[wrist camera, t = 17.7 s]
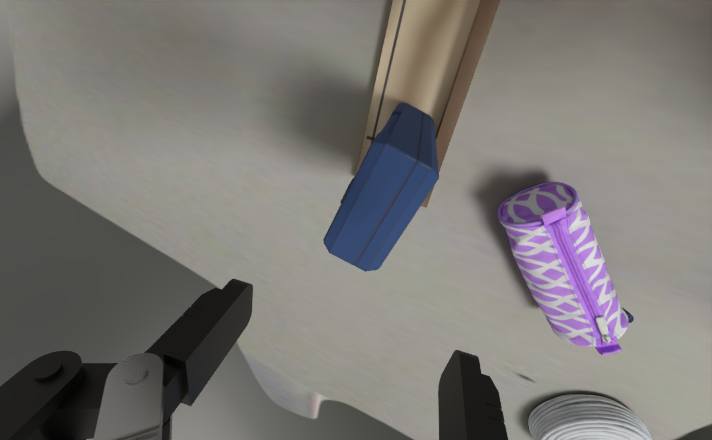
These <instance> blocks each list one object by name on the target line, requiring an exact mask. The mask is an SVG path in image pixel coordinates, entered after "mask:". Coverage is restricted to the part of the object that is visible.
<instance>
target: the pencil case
mask: <svg viewBox="0 0 712 440" xmlns="http://www.w3.org/2000/svg"><path fill="white" fill-rule="evenodd" d="M498 219H499V221H500V223H501V224H502V225H503V226H504V227H505V229H506V232H507V235H508V238H509V241H510V244H511V251H512V254H513V256H514V258H515V261H516V263H517V265H518V267H519V269H520V271H521V273H522V275H523V277H524V279H525V281H526V284H527V286H528V288H529V290H530V292H531V294H532V296H533V297H534V299H535V301H536V302H537V304H538V305H539V307H540V308H541V310H542V311H543V313H544V314H545V316H546V319H547V321H548V322H549V324H550V325H551V328H552V330H553V331H554V333H555V334H556V335H557V336H559V337H560V338H562V339H563V340H565V341H567V342H569V343H572V344H575V345H578V346H594V347H595V348H596V349H597V351H598V352H599V353H600V354H601V355H609V354H613V353H617V352H620V351H623V350H622V348H621V347H620V346H619V344H618V343H617V342H616V339H619V338H620V337H621V336H622V335H623V334H624V333H625V332H626V330H627V328H628V322H629V323H631V322H632V321H633V319H634V318H633V316H632V315H631V314H630V313H629V312H628V311H626V310H625V309H624V308H622V307H621V306H620V304H619V301H618V298H617V295H616V292H615V289H614V286H613V283H612V281H611V279H610V277H609V274H608V272H607V268H606V265H605V260H604V257H603V255H602V252H601V249H600V247H599V245H598V243H597V240H596V237H595V234H594V232H593V230H592V227H591V224H590V219H589V216H588V215H587V214H586V212H585V211H584V209H583V208H582V203H581V200H580V196H579V194H578V193H577V192H576V190H575V189H574V188H572V187H571V186H569V185H567V184H564V183H559V182H547V183H542V184H538V185H536V186H533V187H529V188H527V189H524V190H522V191H520V192H518V193H516V194H515V195H513V196H512V197H509V198H508V199H506V200H505V201H503V202H502V204H501V205H500V206H499V209H498Z"/></svg>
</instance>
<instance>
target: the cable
mask: <svg viewBox="0 0 712 440" xmlns="http://www.w3.org/2000/svg"><path fill="white" fill-rule="evenodd" d="M528 425H529V430H530V433H531V435H532V436H533V438H534V440H654V439H653V438H652V436H651V435H650V434H649V432H648V430H647V428H646V426H645V425H644V423H643V422H642V421H641V420H640V419H639V418H638V417H637V416H636V415H635V414H634V413H633V412H632V411H630V410H629V409H627V408H626V407H624V406H623V405H621V404H620V403H618V402H616V401H614V400H611V399H608V398H605V397H601V396H596V395H584V394H567V395H562V396H559V397H556V398H553V399H551V400H548V401H546V402H544V403H542V404H540V405H539V406H537V407H536V408H535V409H534V410H533V411H532V412H531V414H530V416H529V419H528Z"/></svg>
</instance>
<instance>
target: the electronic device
mask: <svg viewBox="0 0 712 440" xmlns="http://www.w3.org/2000/svg"><path fill="white" fill-rule="evenodd" d="M438 178H439V172H438V160H437V149H436V137H435V125H434V121H433V119H432V118H431V116H430V115H428V114H426V113H424V112H422V111H421V110H419V109H417V108H415V107H413V106H411V105H409V104H408V103H399V104H398V105H397V107H396V108H395V109H394V111H393V112H392V114H391V116H390V118H389V120H388V122H387V123H386V125H385V126H384V128H383V129H382V131H381V132H380V133H378V134H377V136H376V137H375V139H374V140H373V142H372V143H371V145H370V147H369V149H368V151H367V153H366V155H365V157H364V159H363V161H362V163H361V165H360V167H359V169H358V171H357V173H356V175H355V177H354V178H353V179H352V181H351V183H350V184H349V186H348V188H347V190H346V192H345V194H344V196H343V198H342V200H341V203H342V204H341V206H340V208H339V210H338V212H337V214H336V216H335V218H334V220H333V222H332V224H331V226H330V228H329V230H328V232H327V234H326V236H325V238H324V244H325V246H326V247H327V249H328V251H329V253H331V254H333V255H335V256H336V257H338V258H340V259H342V260H344V261H346V262H348V263H350V264H352V265H355V266H356V267H358V268H360V269H362V270H364V271H365V272H366V271H371V270H377V269H379V268H380V266H381V265H382V263H383V262H384V260H385V259H386V257H387V256H388V254H389V253H390V251H391V250H392V248H393V247H394V245H395V244H396V242H397V241H398V239H399V238H400V236H401V235H402V233H403V232H404V230H405V228H406V227H407V225H408V224H409V222H410V221H411V219H412V218H413V216H414V215H415V213H416V212H417V210H418V209H419V207H420V206H421V204H422V203H423V201H424V200H425V198H426V197H427V195H428V194H429V192H430V191H431V189H432V188H433V186H434V185H435V183H436V182H437V180H438Z"/></svg>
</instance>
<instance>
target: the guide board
mask: <svg viewBox="0 0 712 440" xmlns="http://www.w3.org/2000/svg"><path fill="white" fill-rule="evenodd" d="M499 2H500V0H393V2H392V7H391V12H390V16H389V21H388V26H387V30H386V35H385V40H384V44H383V49H382V54H381V58H380V63H379V68H378V72H377V77H376V82H375V86H374V91H373V96H372V100H371V105H370V110H369V114H368V119H367V124H366V129H365V133H364V138H363V143H362V147H361V152H360V157H359V161H358V166H357V171H358V169H359V167H360V165H361V163H362V161H363V159H364V157H365V155H366V153H367V151H368V149H369V147H370V145H371V143H372V142H373V140H374V139H375V137H376V136H377V134H378V133H380V132H381V131H382V129H383V128H384V126H385V125H386V123H387V122H388V120H389V118H390V116H391V114H392V112H393V111H394V109H395V108H396V107H397V105H398V104H399V103H408V104H409V105H411V106H413V107H415V108H417V109H419V110H421V111H422V112H424V113H426V114H428V115H430V116H431V118H432V119H433V121H434V125H435V137H436V149H437V160H438V172H439V171H440V168H441V165H442V162H443V159H444V157H445V154H446V151H447V148H448V145H449V143H450V140H451V137H452V134H453V131H454V129H455V126H456V123H457V120H458V117H459V114H460V112H461V109H462V106H463V103H464V100H465V98H466V95H467V92H468V89H469V86H470V84H471V81H472V78H473V75H474V72H475V69H476V67H477V64H478V61H479V58H480V55H481V53H482V50H483V47H484V44H485V41H486V38H487V36H488V33H489V30H490V27H491V24H492V22H493V19H494V16H495V13H496V10H497V8H498V5H499ZM357 171H356V173H357ZM433 188H434V186H433ZM433 188H432V189H431V191H430V192H429V194H428V195H427V197H426V198H425V200H424V201H423V203H422V204H421V206H423V207H427V204H428V202H429V199H430V196H431V193H432V190H433Z"/></svg>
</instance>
